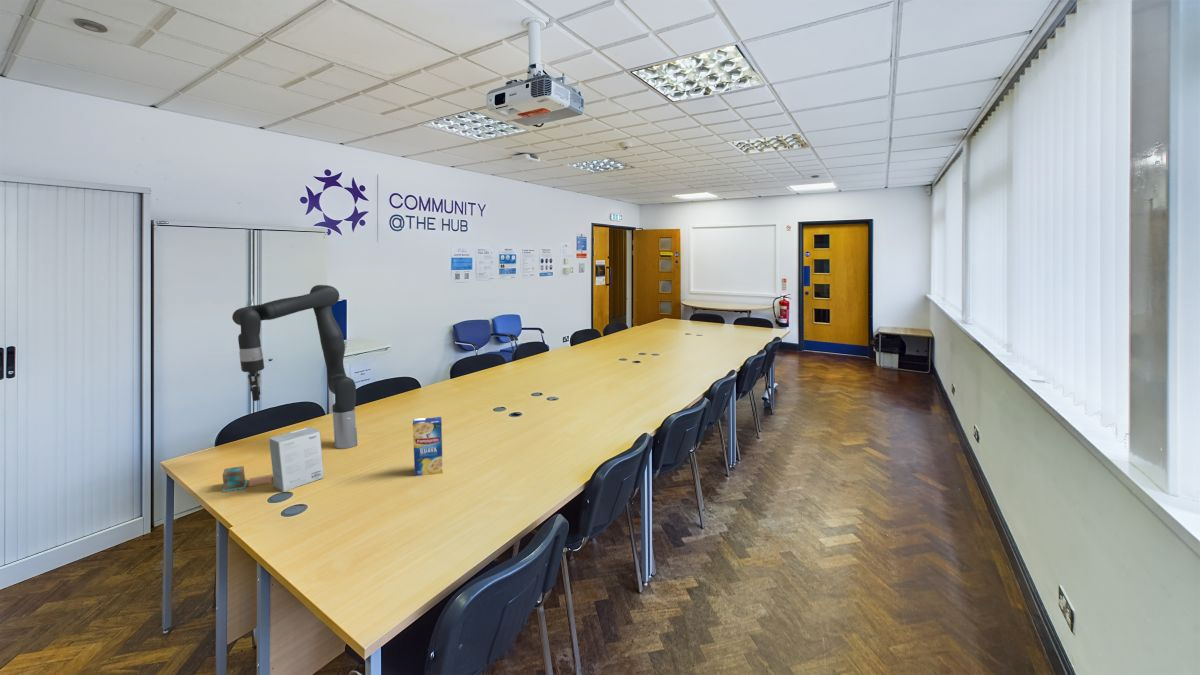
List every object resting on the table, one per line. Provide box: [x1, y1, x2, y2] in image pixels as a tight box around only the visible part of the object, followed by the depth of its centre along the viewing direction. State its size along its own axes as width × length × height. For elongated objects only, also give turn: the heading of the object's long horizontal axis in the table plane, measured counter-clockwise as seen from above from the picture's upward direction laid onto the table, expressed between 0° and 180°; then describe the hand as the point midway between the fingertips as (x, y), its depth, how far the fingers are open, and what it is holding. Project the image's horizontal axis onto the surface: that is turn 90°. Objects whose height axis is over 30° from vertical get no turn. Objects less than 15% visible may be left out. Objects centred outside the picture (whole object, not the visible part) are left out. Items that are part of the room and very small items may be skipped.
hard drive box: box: [268, 426, 325, 492], centre depth 191 cm, size 16×8×20 cm, turn 145°
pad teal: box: [221, 479, 248, 493], centre depth 188 cm, size 7×7×1 cm
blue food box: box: [412, 416, 444, 477], centre depth 203 cm, size 7×11×22 cm, turn 107°
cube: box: [222, 465, 246, 490], centre depth 187 cm, size 6×6×6 cm
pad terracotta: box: [248, 474, 272, 487], centre depth 193 cm, size 7×7×1 cm
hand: (256, 397), depth 198 cm, fingers open, 8 cm apart
